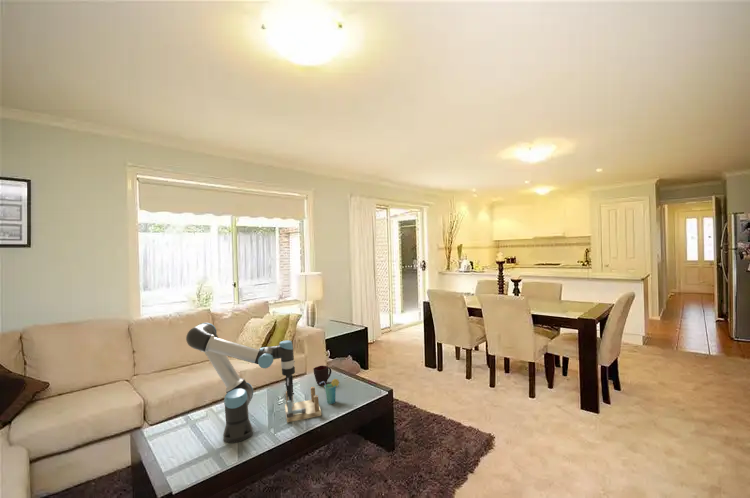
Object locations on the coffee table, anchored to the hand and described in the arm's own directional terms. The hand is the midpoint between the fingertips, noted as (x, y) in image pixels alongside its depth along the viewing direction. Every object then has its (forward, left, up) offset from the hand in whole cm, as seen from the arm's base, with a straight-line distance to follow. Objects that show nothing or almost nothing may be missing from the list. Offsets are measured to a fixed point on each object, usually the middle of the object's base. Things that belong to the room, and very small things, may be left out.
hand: (291, 406), depth 214 cm
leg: (+3, -4, -3) cm, 6 cm away
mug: (+27, +47, -7) cm, 54 cm away
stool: (+7, +4, -6) cm, 10 cm away
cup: (+25, +10, -7) cm, 27 cm away
